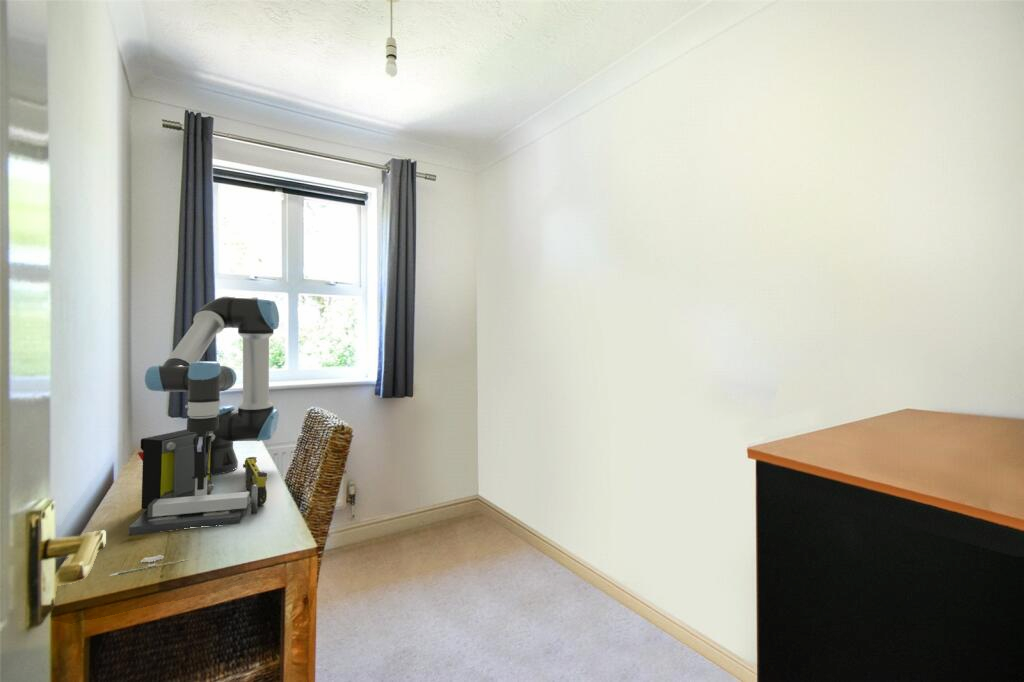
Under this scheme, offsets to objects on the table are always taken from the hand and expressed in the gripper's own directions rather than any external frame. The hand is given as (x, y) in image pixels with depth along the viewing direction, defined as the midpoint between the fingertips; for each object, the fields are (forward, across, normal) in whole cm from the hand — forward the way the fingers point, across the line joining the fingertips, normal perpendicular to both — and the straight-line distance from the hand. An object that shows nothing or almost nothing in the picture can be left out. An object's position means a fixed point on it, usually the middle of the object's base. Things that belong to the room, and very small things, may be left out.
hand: (200, 499), depth 132 cm
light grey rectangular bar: (+1, +5, +1) cm, 5 cm away
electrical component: (+4, -14, -7) cm, 17 cm away
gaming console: (+4, -10, +13) cm, 17 cm away
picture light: (+4, +31, -5) cm, 32 cm away
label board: (+4, +5, +1) cm, 6 cm away
